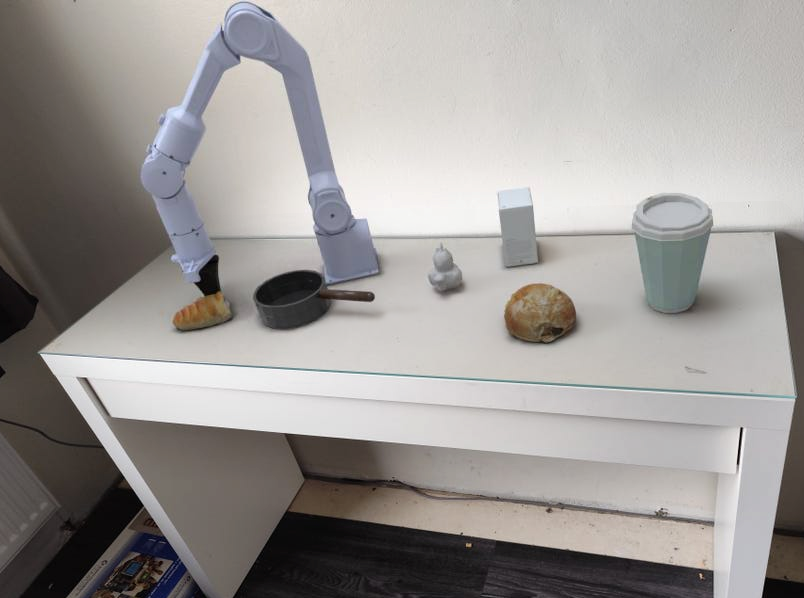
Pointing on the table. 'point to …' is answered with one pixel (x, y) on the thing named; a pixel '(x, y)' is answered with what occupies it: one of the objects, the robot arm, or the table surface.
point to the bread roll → (539, 313)
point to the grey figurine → (444, 270)
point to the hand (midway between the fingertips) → (215, 299)
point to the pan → (291, 299)
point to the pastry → (203, 312)
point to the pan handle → (346, 295)
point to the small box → (517, 226)
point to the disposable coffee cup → (671, 248)
